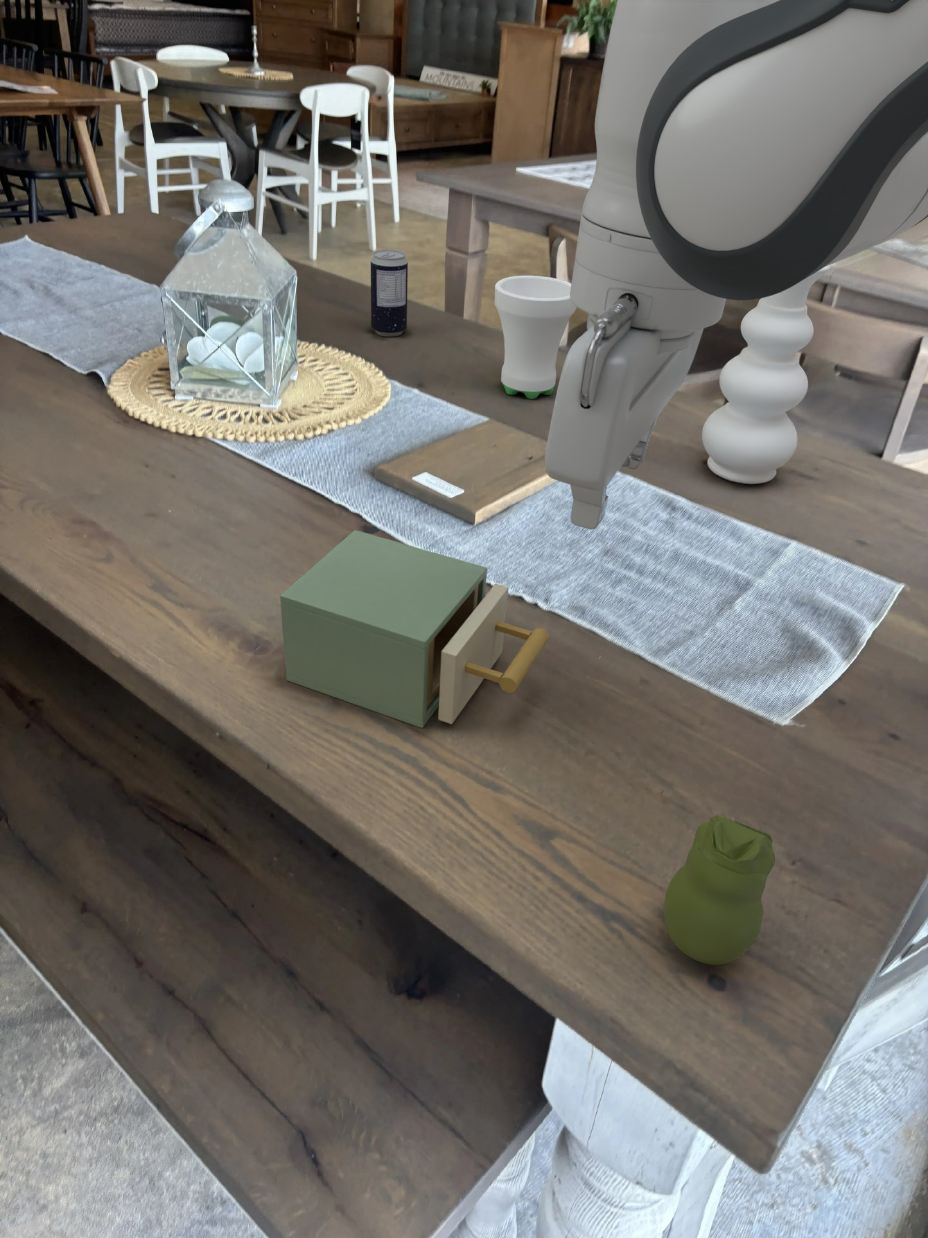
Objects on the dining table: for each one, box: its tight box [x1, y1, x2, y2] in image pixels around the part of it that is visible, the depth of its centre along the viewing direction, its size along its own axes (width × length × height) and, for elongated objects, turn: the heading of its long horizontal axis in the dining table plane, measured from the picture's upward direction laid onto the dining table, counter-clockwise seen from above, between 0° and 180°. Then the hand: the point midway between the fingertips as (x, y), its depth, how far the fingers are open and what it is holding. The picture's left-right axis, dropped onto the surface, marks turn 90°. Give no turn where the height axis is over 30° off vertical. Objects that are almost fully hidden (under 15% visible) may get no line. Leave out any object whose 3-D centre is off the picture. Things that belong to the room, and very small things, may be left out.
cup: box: [494, 275, 578, 400], centre depth 124 cm, size 11×11×14 cm
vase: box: [701, 265, 831, 485], centre depth 103 cm, size 11×11×25 cm
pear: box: [663, 814, 776, 966], centre depth 53 cm, size 6×5×10 cm
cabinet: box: [279, 529, 488, 729], centre depth 74 cm, size 12×11×8 cm
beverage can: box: [370, 249, 409, 338], centre depth 141 cm, size 6×6×12 cm
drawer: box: [427, 583, 550, 725], centre depth 72 cm, size 16×10×7 cm, turn 66°
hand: (609, 491), depth 60 cm, fingers open, 8 cm apart
